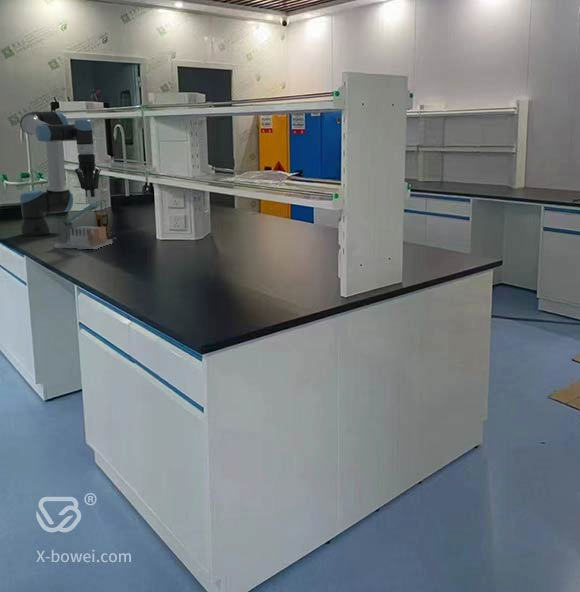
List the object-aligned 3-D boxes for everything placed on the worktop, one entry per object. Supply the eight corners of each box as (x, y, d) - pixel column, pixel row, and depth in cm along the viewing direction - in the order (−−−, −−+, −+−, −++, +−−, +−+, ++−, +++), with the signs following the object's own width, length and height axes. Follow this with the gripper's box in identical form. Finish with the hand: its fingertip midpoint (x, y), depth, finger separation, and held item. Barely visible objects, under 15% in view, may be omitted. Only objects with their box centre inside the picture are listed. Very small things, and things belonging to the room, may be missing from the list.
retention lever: (62, 227, 304) (59, 224, 304) (69, 225, 310) (67, 222, 309) (92, 207, 296) (90, 203, 296) (99, 205, 302) (97, 202, 302)
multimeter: (113, 241, 318) (109, 202, 312) (95, 240, 320) (91, 201, 314) (125, 236, 332) (122, 198, 326) (108, 235, 334) (105, 198, 328)
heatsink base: (54, 248, 302) (52, 223, 299) (74, 241, 317) (71, 218, 314) (94, 250, 297) (92, 225, 293) (112, 243, 311) (110, 220, 308)
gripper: (69, 154, 291) (74, 204, 298) (93, 154, 288) (98, 205, 294) (78, 153, 298) (83, 202, 305) (102, 153, 295) (107, 203, 301)
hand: (91, 203), depth 299 cm, fingers closed
